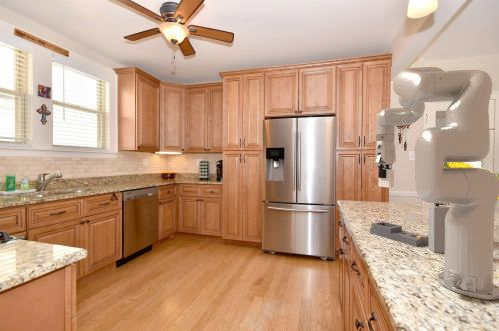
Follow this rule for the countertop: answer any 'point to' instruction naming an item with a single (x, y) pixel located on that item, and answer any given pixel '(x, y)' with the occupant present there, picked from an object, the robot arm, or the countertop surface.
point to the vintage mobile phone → (437, 228)
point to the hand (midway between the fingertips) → (384, 177)
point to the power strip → (398, 234)
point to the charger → (387, 179)
